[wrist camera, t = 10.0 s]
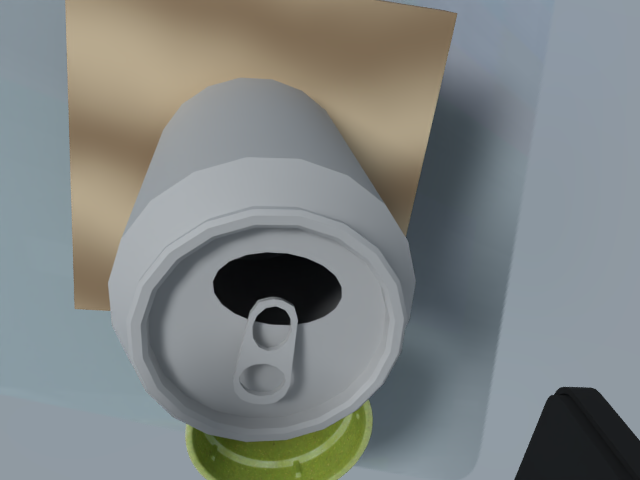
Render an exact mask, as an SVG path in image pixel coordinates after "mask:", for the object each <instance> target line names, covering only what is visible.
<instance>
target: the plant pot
mask: <svg viewBox="0 0 640 480" xmlns="http://www.w3.org/2000/svg"><path fill="white" fill-rule="evenodd" d="M372 426H373V414H372V408H371V404H370V401H369V399H368V400H367V401H366V402H365V403H364V404H363V405H362V406H361V407H360V408H359V409H358V410H357V411H355V412H353V413H351V414H350V415H348V416H346V417H344V418H343V419H341V420H339V421H337V422H336V423H334V424H332V425H330V426H329V427H327V428H325V429H323V430H319V431H316V432H312V433H309V434H305V435H302V436H298V437H295V438H291V439H288V440H276V441H255V442H244V441H239V440H234V439H229V438H224V437H219V436H214V435H209V434H206V433H204V432H202V431H200V430H198V429H196V428H194V427H192V426H190V425H188V424H186V431H185V439H186V446H187V451H188V454H189V457H190V459H191V461H192V463H193V465H194V466H195V468H196V469H197V470H198V472H199V473H200V474H201V475H202V476H203V477H204V478H205V479H207V480H338V479H339V478H341V477H342V476H343V475H344V474H345V473H347V472H348V471H349V470H350V469H351V468H352V467H353V466H354V465H355V464H356V463H357V461H358V460H359V458H360V457H361V455H362V454H363V452H364V451H365V449H366V447H367V445H368V442H369V440H370V436H371V433H372Z"/></svg>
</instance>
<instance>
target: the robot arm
mask: <svg viewBox="0 0 640 480" xmlns="http://www.w3.org/2000/svg"><path fill="white" fill-rule="evenodd" d="M515 480H640V441H639V439H638V438H637V437H636V436H635V434H634V433H633V432H632V431H631V430H630V428H629V427H628V426H627V425H626V424H625V422H624V421H623V420H622V419H621V418H620V416H618V414H617V413H616V412H615V410H613V408H612V407H611V406H610V404H609V403H608V402H607V401H606V400H605V399H604V397H603V396H602V395H601V394H600V393H599V392H598V391H597V390H596V389H593V388H583V387H581V388H580V387H561V388H559V389H558V390H557V391H556V393H555V394H554V395H551V396H550V397H549V398H548V400H547V401H546V404H545V406H544V409H543V411H542V414H541V416H540V418H539V421H538V423H537V426H536V428H535V431H534V433H533V435H532V438H531V441H530V443H529V445H528V448H527V450H526V453H525V455H524V458H523V460H522V463H521V465H520V467H519V470H518V472H517V475H516V477H515Z"/></svg>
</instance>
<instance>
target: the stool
mask: <svg viewBox="0 0 640 480" xmlns="http://www.w3.org/2000/svg"><path fill="white" fill-rule="evenodd" d="M65 6H66V38H67V71H68V104H69V137H70V170H71V203H72V236H73V269H74V302H75V309H86V310H106V311H111V310H110V299H109V288H108V281H109V278H110V274H111V271H112V268H113V264H114V261H115V258H116V254H117V251H118V247H119V244H120V241H121V238H122V235H123V233H124V230H125V227H126V225H127V222H128V220H129V217H130V215H131V212H132V209H133V207H134V204H135V202H136V199H137V196H138V194H139V191H140V189H141V186H142V183H143V181H144V178H145V176H146V173H147V171H148V168H149V165H150V163H151V160H152V158H153V155H154V152H155V150H156V147H157V145H158V142H159V139H160V137H161V134H162V132H163V129H164V128H165V126H166V125H167V124H168V122H169V121H170V120H171V118H172V117H173V116H174V114H175V113H176V112H177V110H178V109H179V108H180V106H181V105H182V104H183V103H185V102H186V101H187V100H189V99H190V98H192V97H193V96H195V95H196V94H198V93H199V92H201V91H202V90H204V89H205V88H207V87H208V86H211V85H215V84H218V83H222V82H226V81H229V80H233V79H237V78H257V79H273V80H275V81H278V82H281V83H283V84H286V85H288V86H291V87H294V88H296V89H299V90H301V91H303V92H304V93H305V94H307V95H308V96H309V97H310V98H311V99H313V100H314V101H315V102H316V103H317V104H319V105H320V106H321V107H322V108H324V109H325V110H326V111H327V113H328V115H329V116H330V118H331V119H332V121H333V123H334V124H335V126H336V127H337V129H338V130H339V132H340V134H341V135H342V137H343V138H344V140H345V142H346V143H347V145H348V146H349V148H350V149H351V151H352V153H353V154H354V156H355V157H356V159H357V161H358V162H359V164H360V165H361V167H362V168H363V170H364V172H365V173H366V175H367V176H368V178H369V180H370V181H371V183H372V184H373V186H374V187H375V189H376V191H377V192H378V194H379V195H380V197H381V199H382V200H383V202H384V203H385V205H386V206H387V208H388V210H389V211H390V213H391V215H392V216H393V218H394V219H395V221H396V223H397V224H398V226H399V227H400V229H401V231H402V232H403V234H404V236H405V237H406V234H407V229H408V225H409V221H410V216H411V212H412V208H413V203H414V199H415V195H416V190H417V186H418V182H419V177H420V173H421V169H422V165H423V160H424V156H425V152H426V147H427V143H428V139H429V134H430V130H431V126H432V121H433V117H434V113H435V108H436V104H437V100H438V95H439V91H440V87H441V82H442V78H443V74H444V69H445V65H446V61H447V56H448V52H449V48H450V43H451V39H452V35H453V30H454V26H455V22H456V17H457V13H453V12H449V11H445V10H439V9H432V8H426V7H420V6H414V5H407V4H401V3H395V2H388V1H382V0H65Z"/></svg>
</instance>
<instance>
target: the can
mask: <svg viewBox="0 0 640 480" xmlns="http://www.w3.org/2000/svg"><path fill="white" fill-rule="evenodd" d="M415 284H416V279H415V274H414V269H413V264H412V259H411V253H410V248H409V243H408V240H407V239H406V237H405V236H404V234H403V232H402V231H401V229H400V227H399V226H398V224H397V223H396V221H395V219H394V218H393V216H392V215H391V213H390V211H389V210H388V208H387V206H386V205H385V203H384V202H383V200H382V199H381V197H380V195H379V194H378V192H377V191H376V189H375V187H374V186H373V184H372V183H371V181H370V180H369V178H368V176H367V175H366V173H365V172H364V170H363V168H362V167H361V165H360V164H359V162H358V161H357V159H356V157H355V156H354V154H353V153H352V151H351V149H350V148H349V146H348V145H347V143H346V142H345V140H344V138H343V137H342V135H341V134H340V132H339V130H338V129H337V127H336V126H335V124H334V123H333V121H332V119H331V118H330V116H329V115H328V113H327V111H326V110H325V109H324V108H322V107H321V106H320V105H319V104H317V103H316V102H315V101H314V100H313V99H311V98H310V97H309V96H308V95H307V94H305V93H304V92H303V91H301V90H299V89H296V88H294V87H291V86H288V85H286V84H283V83H281V82H278V81H275V80H273V79H257V78H237V79H233V80H229V81H226V82H222V83H218V84H215V85H211V86H208V87H207V88H205V89H204V90H202V91H201V92H199V93H198V94H196V95H195V96H193V97H192V98H190V99H189V100H187V101H186V102H185V103H183V104H182V105H181V106H180V108H179V109H178V110H177V112H176V113H175V114H174V116H173V117H172V118H171V120H170V121H169V122H168V124H167V125H166V126H165V128H164V129H163V132H162V134H161V137H160V139H159V142H158V145H157V147H156V150H155V152H154V155H153V158H152V160H151V163H150V165H149V168H148V171H147V173H146V176H145V178H144V181H143V183H142V186H141V189H140V191H139V194H138V196H137V199H136V202H135V204H134V207H133V209H132V212H131V215H130V217H129V220H128V222H127V225H126V227H125V230H124V233H123V235H122V238H121V241H120V244H119V247H118V251H117V254H116V258H115V261H114V264H113V268H112V271H111V274H110V278H109V281H108V288H109V299H110V310H111V320H112V326H113V328H114V330H115V332H116V334H117V336H118V338H119V340H120V342H121V344H122V346H123V348H124V350H125V352H126V354H127V356H128V358H129V360H130V362H131V364H132V365H133V367H134V369H135V371H136V373H137V375H138V377H139V379H140V381H141V383H142V385H143V387H144V389H145V391H146V392H147V393H148V394H149V395H150V396H151V397H152V398H153V399H154V400H155V401H157V402H158V403H159V404H160V405H161V406H162V407H163V408H164V409H165V410H166V411H167V412H168V413H169V414H170V415H171V416H172V417H174V418H176V419H178V420H180V421H182V422H184V423H186V424H188V425H190V426H192V427H194V428H196V429H198V430H200V431H202V432H204V433H206V434H209V435H214V436H219V437H224V438H229V439H234V440H239V441H244V442H255V441H276V440H288V439H291V438H295V437H298V436H302V435H305V434H309V433H312V432H316V431H319V430H323V429H325V428H327V427H329V426H330V425H332V424H334V423H336V422H337V421H339V420H341V419H343V418H344V417H346V416H348V415H350V414H351V413H353V412H355V411H357V410H358V409H359V408H360V407H361V406H362V405H363V404H364V403H365V402H366V401H367V400H368V399H369V398H370V397H371V396H372V395H373V394H374V393H375V392H376V391H377V390H378V389H379V388H380V387H381V386H382V385H383V384H384V383H385V381H386V379H387V378H388V376H389V374H390V372H391V370H392V368H393V366H394V365H395V363H396V361H397V359H398V357H399V355H400V354H401V352H402V346H403V340H404V334H405V328H406V326H407V324H408V323H409V320H410V314H411V308H412V302H413V296H414V290H415Z"/></svg>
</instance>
